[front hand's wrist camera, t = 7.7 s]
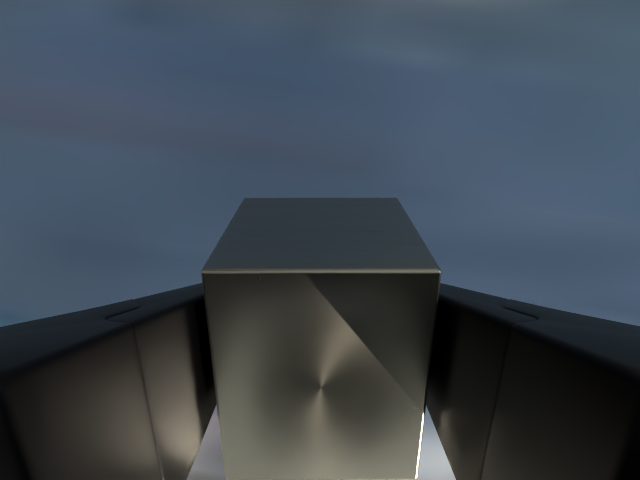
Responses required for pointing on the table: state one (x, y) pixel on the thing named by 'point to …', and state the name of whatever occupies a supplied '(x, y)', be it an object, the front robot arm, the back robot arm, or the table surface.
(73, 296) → the table surface
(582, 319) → the front robot arm
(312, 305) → the grey metallic block
